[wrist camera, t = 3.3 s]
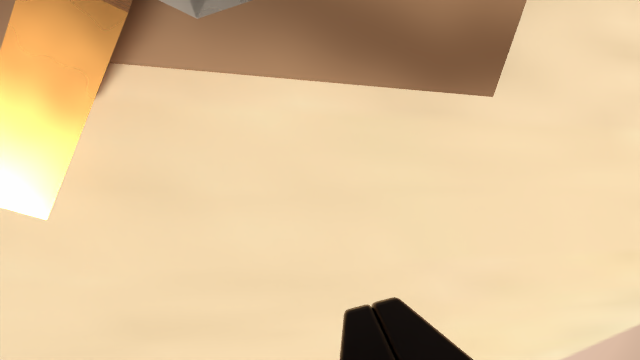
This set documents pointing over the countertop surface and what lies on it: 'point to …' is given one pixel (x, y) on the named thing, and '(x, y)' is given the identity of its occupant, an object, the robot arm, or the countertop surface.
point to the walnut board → (328, 41)
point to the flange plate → (56, 88)
